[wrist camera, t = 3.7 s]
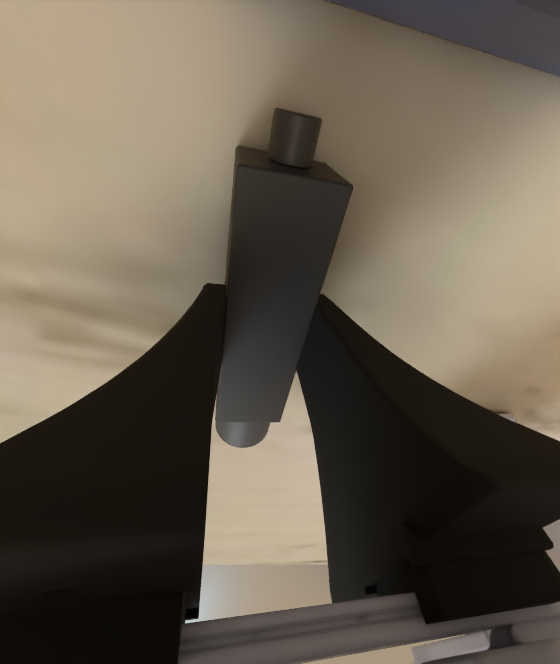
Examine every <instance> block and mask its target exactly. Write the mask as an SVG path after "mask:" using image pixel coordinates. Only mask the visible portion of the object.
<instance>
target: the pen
mask: <svg viewBox="0 0 560 664" xmlns="http://www.w3.org/2000/svg"><path fill="white" fill-rule="evenodd" d="M321 124H322V119H321V118H318V117H314V116H310V115H306V114H302V113H298V112H293V111H289V110H284V109H280V108H275V110H274V115H273V123H272V130H271V137H270V144H269V151H268V152H266V151H261V150H256V149H251V148H246V147H241V146H237V147H236V151H235V164H234V176H233V189H232V202H231V214H230V227H229V240H228V252H227V265H226V278H225V285H226V297H227V303H226V314H225V326H224V338H223V349H222V361H221V369H220V375H219V381H218V388H217V399H216V417H215V420H216V430H217V433H218V434H219V436H220V437H221V439H222V440H223V441H225V442H226V443H228V444H229V445H231V446H234V447H239V448H246V447H251V446H254V445H256V444H258V443H259V442H260V441H262V440H263V439H264V437H265V436H266V434H267V432H268V428H269V425H270V422H280V420H281V417H282V414H283V410H284V407H285V404H286V401H287V398H288V394H289V391H290V388H291V385H292V382H293V378H294V375H295V372H296V369H297V365H298V361H299V358H300V355H301V352H302V349H303V345H304V342H305V339H306V336H307V333H308V329H309V326H310V323H311V320H312V317H313V313H314V310H315V307H316V305H317V302H318V299H319V295H320V292H321V289H322V286H323V283H324V280H325V276H326V273H327V270H328V267H329V264H330V260H331V257H332V254H333V251H334V248H335V244H336V241H337V238H338V235H339V232H340V228H341V225H342V222H343V219H344V216H345V213H346V209H347V206H348V203H349V200H350V197H351V193H352V190H353V185H352V184H350V183H349V182H348V181H347V180H345V179H344V178H343V177H342V176H340V175H339V174H338V173H336V172H335V171H334V170H333V169H331V168H330V167H329V166H328V165H326V164H325V163H321V162H316V161H313V159H314V155H315V150H316V146H317V141H318V137H319V133H320V128H321Z"/></svg>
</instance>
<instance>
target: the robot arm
mask: <svg viewBox="0 0 560 664" xmlns="http://www.w3.org/2000/svg"><path fill="white" fill-rule="evenodd" d="M226 303H227V297H226V285H222V284H212V283H207V284H206V285H204V286H203V288H202V290H201V292H200V294H199V295H198V297H197V298H196V300H195V301H194V302H193V304H192V305H191V306H190V308H189V309H188V310H187V311H186V313H185V314H184V315H183V316H182V318H181V319H180V320H179V321H178V322H177V323H176V324H175V325H174V326H173V327H172V328H171V329H170V330H169V332H168V333H167V334H166V335H165V336H164V337H163V338H162V339H161V340H160V341H158V342H157V343H156V344H155V345H154V346H153V347H152V348H151V349H150V350H148V351H147V352H146V353H145V354H144V355H143V356H141V357H140V358H139V359H138V360H136V361H135V362H134V363H132V364H131V365H130V366H129V367H127V368H126V369H125V370H123V371H122V372H121V373H119V374H118V375H117V376H115V377H114V378H112V379H111V380H110V381H108V382H107V383H105V384H104V385H102V386H101V387H99V388H97V389H96V390H94V391H93V392H91V393H89V394H88V395H86V396H85V397H83V398H82V399H80V400H78V401H77V402H75V403H74V404H72V405H70V406H69V407H67V408H65V409H63V410H62V411H60V412H58V413H56V414H55V415H53V416H51V417H49V418H47V419H46V420H44V421H42V422H40V423H38V424H36V425H34V426H32V427H30V428H28V429H27V430H25V431H23V432H21V433H19V434H17V435H15V436H13V437H11V438H9V439H8V440H6V441H4V442H2V443H0V664H301V663H306V662H312V661H317V660H323V659H328V658H334V657H340V656H345V655H351V654H357V653H362V652H368V651H373V650H379V649H385V648H390V647H396V646H401V645H407V644H412V643H418V642H423V641H428V640H435V639H440V638H445V637H451V636H457V635H463V634H465V635H463V636H459V637H454V638H450V639H446V640H441V641H437V642H433V643H428V644H424V645H419V646H415V647H412V649H411V650H412V653H413V656H414V659H415V660H414V661H413V663H412V664H560V441H557V440H555V439H553V438H550V437H548V436H546V435H543V434H541V433H539V432H537V431H534V430H532V429H530V428H527V427H525V426H523V425H520V424H518V423H516V418H515V417H514V416H513V415H512V414H496V413H494V412H492V411H490V410H488V409H486V408H484V407H482V406H480V405H478V404H476V403H474V402H472V401H470V400H468V399H466V398H464V397H462V396H461V395H459V394H457V393H455V392H453V391H451V390H450V389H448V388H446V387H445V386H443V385H441V384H439V383H438V382H436V381H434V380H432V379H431V378H429V377H427V376H426V375H424V374H423V373H421V372H419V371H418V370H416V369H415V368H414V367H412V366H411V365H409V364H408V363H406V362H405V361H403V360H402V359H400V358H399V357H397V356H396V355H395V354H393V353H392V352H391V351H389V350H388V349H387V348H385V347H384V346H383V345H382V344H380V343H379V342H378V341H377V340H375V339H374V338H373V337H372V336H370V335H369V334H368V333H367V332H366V331H364V330H363V329H362V328H361V327H360V326H359V325H358V324H356V323H355V322H354V321H353V320H352V319H351V318H350V317H349V316H347V315H346V314H345V313H344V312H343V311H342V310H341V309H340V308H339V307H338V306H336V305H335V304H334V303H333V302H332V301H331V300H330V299H328V298H327V297H326V296H324V295H323V294H320V295H319V299H318V302H317V305H316V307H315V310H314V313H313V317H312V320H311V323H310V326H309V329H308V333H307V336H306V339H305V342H304V345H303V349H302V352H301V355H300V358H299V361H298V365H297V372H298V376H299V380H300V384H301V388H302V392H303V396H304V399H305V403H306V407H307V411H308V415H309V418H310V422H311V427H312V432H313V437H314V444H315V451H316V457H317V464H318V472H319V479H320V487H321V495H322V504H323V513H324V523H325V533H326V544H327V556H328V568H329V583H330V593H331V598H332V604H324V605H318V606H310V607H302V608H295V609H288V610H281V611H274V612H266V613H259V614H251V615H245V616H237V617H230V618H223V619H215V620H208V621H201V622H194V623H187V624H185V620H191V619H198V616H199V601H200V588H201V575H202V563H203V550H204V537H205V522H206V506H207V491H208V475H209V459H210V443H211V427H212V418H213V412H214V406H215V400H216V394H217V388H218V381H219V375H220V369H221V361H222V349H223V338H224V326H225V314H226Z"/></svg>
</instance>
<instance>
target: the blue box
mask: <svg viewBox="0 0 560 664" xmlns="http://www.w3.org/2000/svg"><path fill="white" fill-rule="evenodd" d="M326 1H329V2H332V3H335V4H339V5H342V6H345V7H348V8H351V9H354V10H357V11H360V12H363V13H366V14H369V15H373V16H376V17H379V18H382V19H385V20H388V21H391V22H394V23H397V24H400V25H403V26H407V27H410V28H413V29H416V30H419V31H422V32H425V33H428V34H431V35H434V36H437V37H441V38H444V39H447V40H450V41H453V42H456V43H459V44H462V45H465V46H468V47H472V48H475V49H478V50H481V51H484V52H487V53H490V54H493V55H496V56H499V57H502V58H506V59H509V60H512V61H515V62H518V63H521V64H524V65H527V66H530V67H533V68H536V69H540V70H543V71H546V72H549V73H552V74H555V75H558V76H560V0H326Z"/></svg>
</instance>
